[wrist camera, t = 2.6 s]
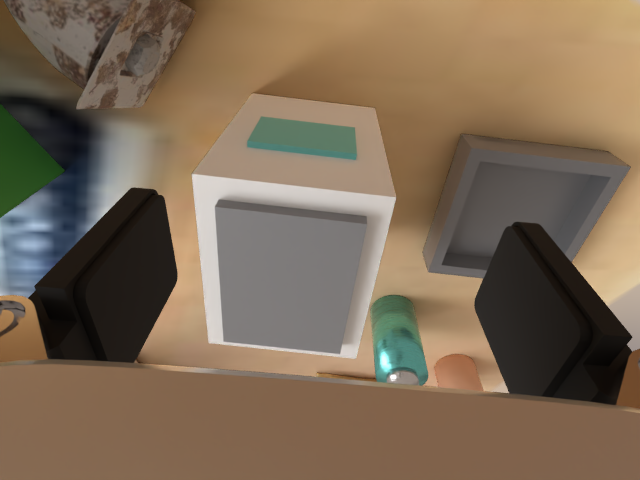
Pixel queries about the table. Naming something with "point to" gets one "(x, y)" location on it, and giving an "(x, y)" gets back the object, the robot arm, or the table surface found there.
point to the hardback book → (21, 164)
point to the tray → (516, 199)
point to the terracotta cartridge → (457, 373)
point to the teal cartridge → (397, 342)
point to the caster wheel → (105, 43)
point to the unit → (293, 225)
